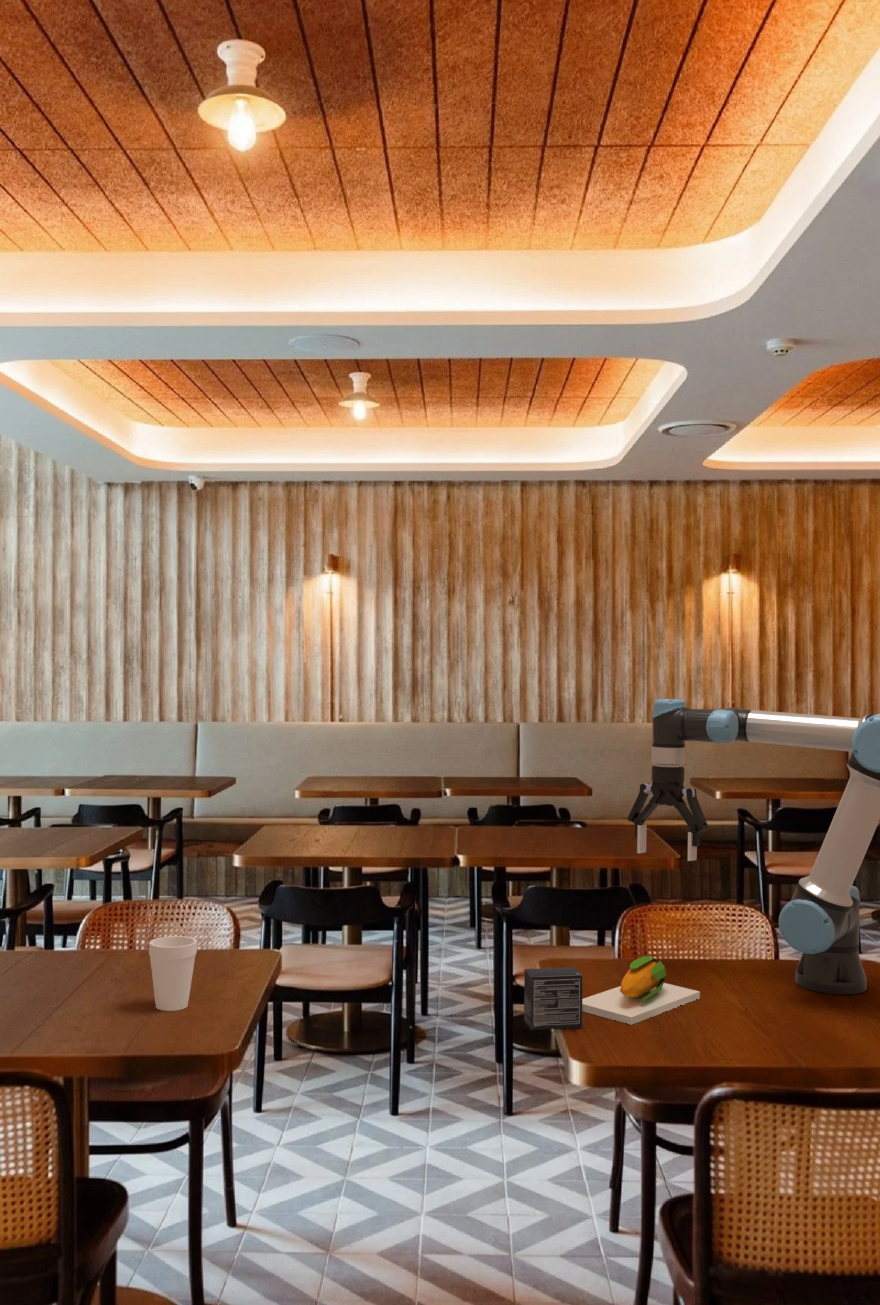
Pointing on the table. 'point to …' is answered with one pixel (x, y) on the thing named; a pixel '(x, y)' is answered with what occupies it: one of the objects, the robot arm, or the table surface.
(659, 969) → the mango
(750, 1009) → the table surface
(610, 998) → the platter
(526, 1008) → the small box
